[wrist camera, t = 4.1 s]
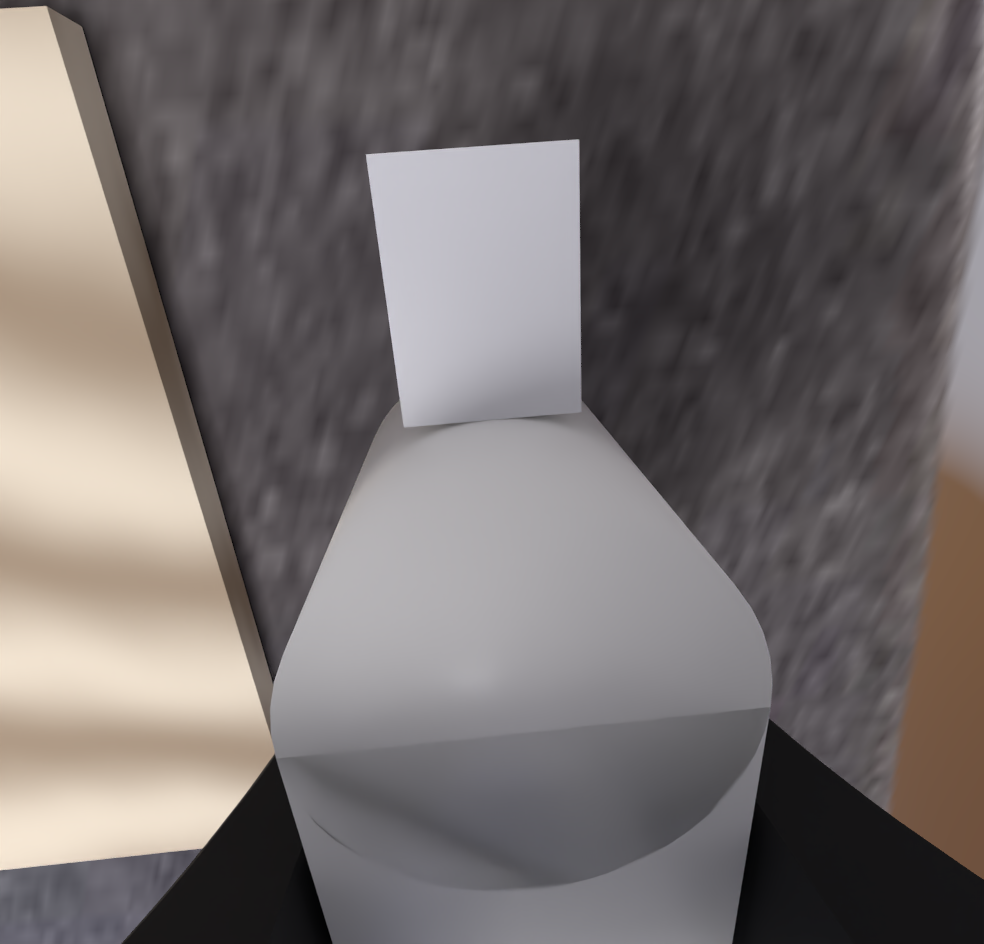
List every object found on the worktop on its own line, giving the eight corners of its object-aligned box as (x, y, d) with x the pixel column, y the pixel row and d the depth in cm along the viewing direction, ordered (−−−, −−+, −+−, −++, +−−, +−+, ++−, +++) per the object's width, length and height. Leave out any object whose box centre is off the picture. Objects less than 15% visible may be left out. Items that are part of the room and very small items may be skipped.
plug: (605, 806, 12) (698, 1148, 8) (424, 826, 12) (406, 1187, 7) (614, 173, 7) (876, 51, 3) (316, 194, 7) (75, 103, 3)
